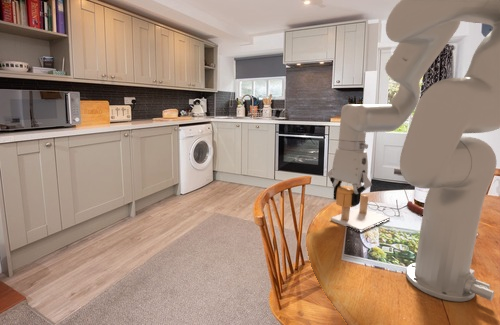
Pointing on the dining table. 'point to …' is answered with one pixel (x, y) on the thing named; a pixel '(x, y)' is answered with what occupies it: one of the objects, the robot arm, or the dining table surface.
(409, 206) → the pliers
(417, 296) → the dining table surface
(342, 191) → the wooden faceted cylinder
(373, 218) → the plate
